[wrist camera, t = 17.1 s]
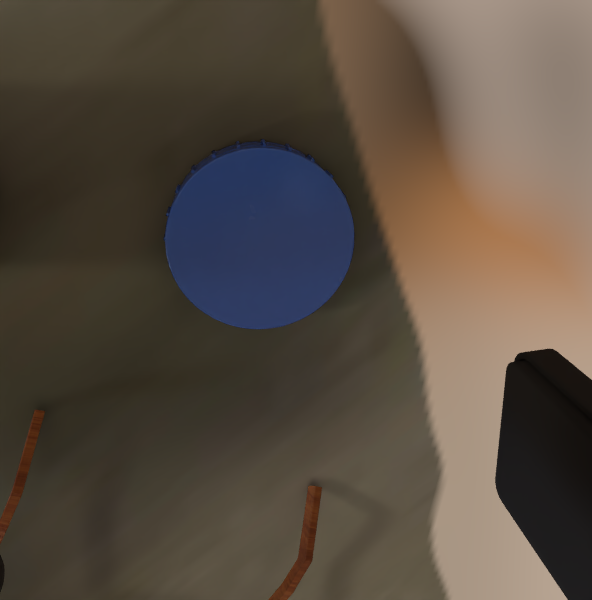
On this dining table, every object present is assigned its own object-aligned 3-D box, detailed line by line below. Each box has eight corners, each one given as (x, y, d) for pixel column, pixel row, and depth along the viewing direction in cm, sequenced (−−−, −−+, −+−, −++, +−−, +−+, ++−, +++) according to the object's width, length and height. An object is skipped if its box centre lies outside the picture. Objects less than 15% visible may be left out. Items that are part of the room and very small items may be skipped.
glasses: (-37, 617, 26) (-90, 735, 21) (37, 400, 22) (-10, 490, 17) (221, 658, 30) (222, 767, 25) (326, 481, 26) (349, 572, 21)
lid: (344, 131, 19) (354, 137, 18) (349, 303, 22) (358, 319, 21) (151, 148, 19) (146, 155, 17) (182, 323, 21) (179, 341, 20)
